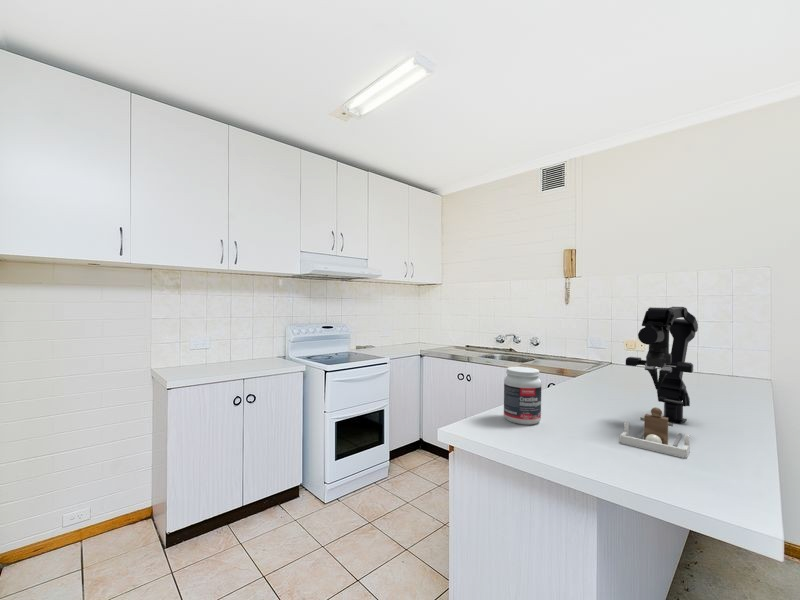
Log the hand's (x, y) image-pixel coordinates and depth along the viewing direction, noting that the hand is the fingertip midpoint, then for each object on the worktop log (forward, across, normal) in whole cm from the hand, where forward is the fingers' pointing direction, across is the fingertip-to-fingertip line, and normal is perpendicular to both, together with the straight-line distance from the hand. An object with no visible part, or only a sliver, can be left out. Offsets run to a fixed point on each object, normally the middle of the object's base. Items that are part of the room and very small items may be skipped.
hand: (657, 389), depth 129 cm
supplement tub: (+15, -37, -24) cm, 47 cm away
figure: (+13, +3, -20) cm, 24 cm away
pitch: (+14, +3, -16) cm, 21 cm away
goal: (+14, +3, -24) cm, 28 cm away
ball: (+12, +3, -24) cm, 27 cm away
